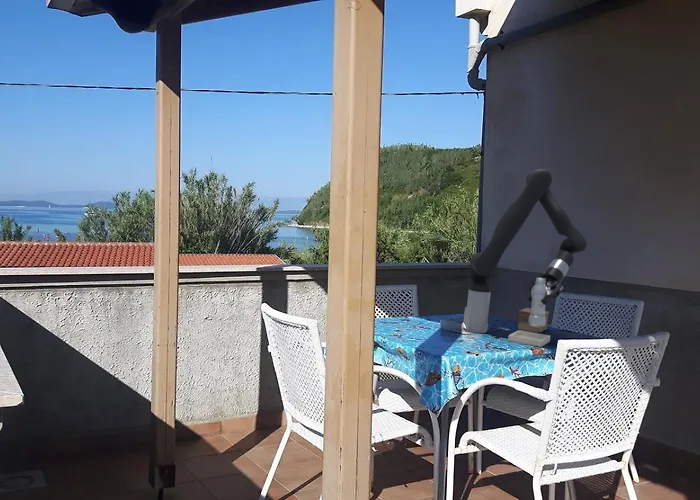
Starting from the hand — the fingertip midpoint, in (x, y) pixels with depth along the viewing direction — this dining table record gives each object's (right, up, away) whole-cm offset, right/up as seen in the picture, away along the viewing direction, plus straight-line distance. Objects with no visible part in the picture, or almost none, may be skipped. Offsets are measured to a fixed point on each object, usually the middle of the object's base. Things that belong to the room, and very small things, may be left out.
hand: (536, 302), depth 271 cm
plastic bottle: (+1, -11, +2) cm, 11 cm away
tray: (-2, -16, +3) cm, 17 cm away
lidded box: (+7, -15, +33) cm, 37 cm away
